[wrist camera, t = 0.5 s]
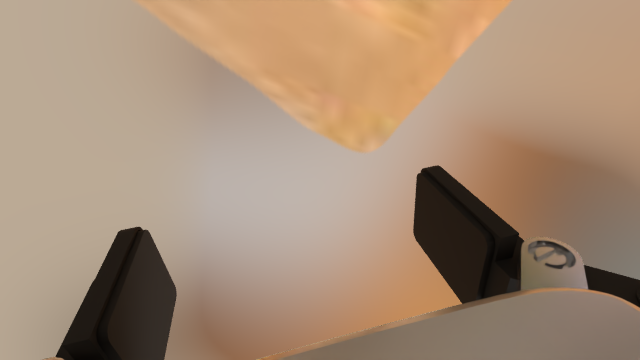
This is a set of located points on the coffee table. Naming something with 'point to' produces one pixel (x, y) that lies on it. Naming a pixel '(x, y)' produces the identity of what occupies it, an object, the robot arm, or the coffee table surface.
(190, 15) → the coffee table surface
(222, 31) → the coffee table surface
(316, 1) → the coffee table surface
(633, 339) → the robot arm
